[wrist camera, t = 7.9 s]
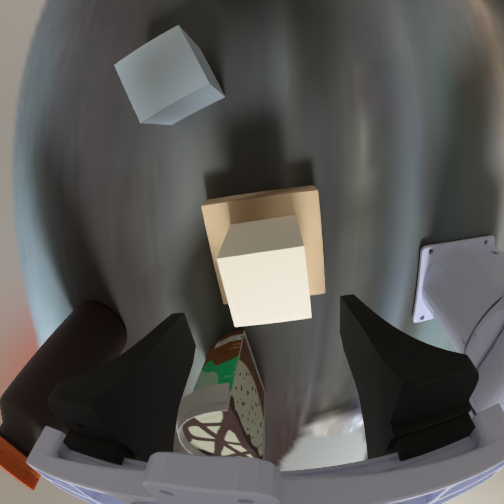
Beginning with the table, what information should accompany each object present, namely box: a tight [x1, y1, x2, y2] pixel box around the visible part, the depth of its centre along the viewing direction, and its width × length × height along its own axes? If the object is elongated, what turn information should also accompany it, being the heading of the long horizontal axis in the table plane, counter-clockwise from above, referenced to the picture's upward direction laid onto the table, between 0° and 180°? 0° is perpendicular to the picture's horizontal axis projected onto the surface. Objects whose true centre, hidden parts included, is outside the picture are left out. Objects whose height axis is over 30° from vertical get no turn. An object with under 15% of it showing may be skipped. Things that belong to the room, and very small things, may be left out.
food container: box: [176, 329, 266, 460], centre depth 23 cm, size 12×6×10 cm, turn 14°
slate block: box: [114, 25, 225, 125], centre depth 15 cm, size 4×4×6 cm
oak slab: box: [201, 185, 325, 304], centre depth 22 cm, size 8×8×2 cm
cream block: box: [216, 215, 312, 327], centre depth 18 cm, size 4×4×6 cm
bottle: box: [0, 302, 127, 490], centre depth 18 cm, size 7×7×20 cm
